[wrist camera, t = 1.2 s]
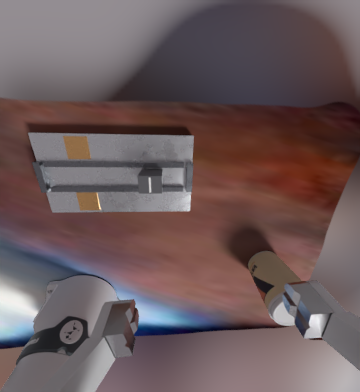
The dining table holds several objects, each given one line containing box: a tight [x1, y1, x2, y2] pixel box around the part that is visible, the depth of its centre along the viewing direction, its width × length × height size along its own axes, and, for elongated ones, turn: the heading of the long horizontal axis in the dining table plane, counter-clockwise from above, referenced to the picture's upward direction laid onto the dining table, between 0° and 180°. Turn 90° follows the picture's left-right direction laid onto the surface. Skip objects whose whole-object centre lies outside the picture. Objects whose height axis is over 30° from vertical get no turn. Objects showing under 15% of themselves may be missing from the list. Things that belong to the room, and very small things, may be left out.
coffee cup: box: [248, 251, 301, 326], centre depth 37 cm, size 9×9×12 cm
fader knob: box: [137, 169, 163, 194], centre depth 27 cm, size 4×3×4 cm
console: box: [28, 132, 194, 212], centre depth 30 cm, size 26×14×3 cm, turn 89°
